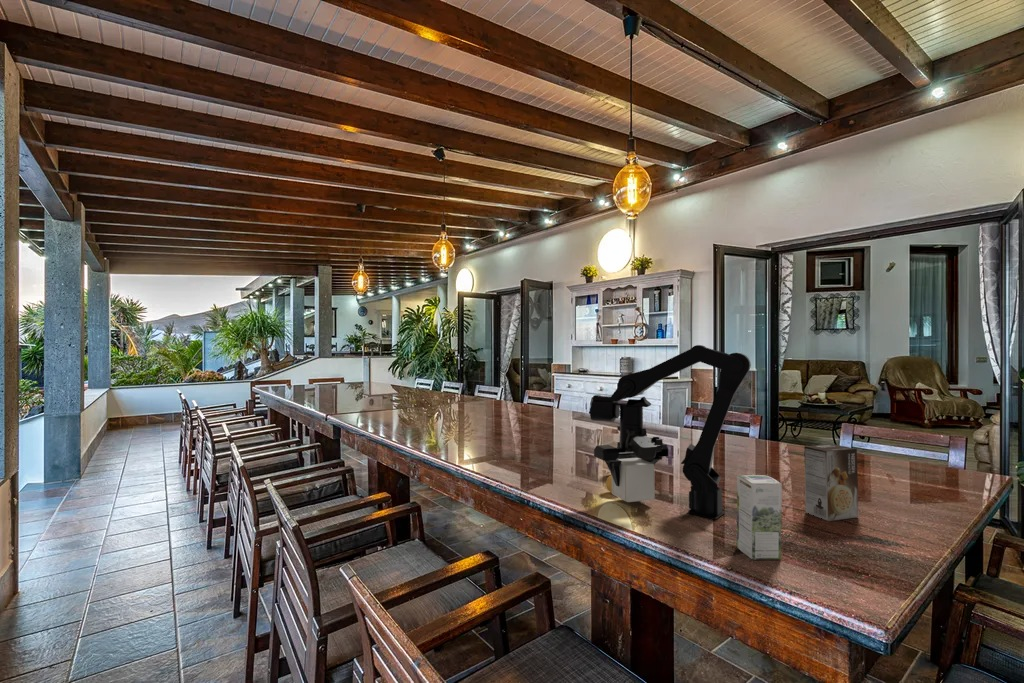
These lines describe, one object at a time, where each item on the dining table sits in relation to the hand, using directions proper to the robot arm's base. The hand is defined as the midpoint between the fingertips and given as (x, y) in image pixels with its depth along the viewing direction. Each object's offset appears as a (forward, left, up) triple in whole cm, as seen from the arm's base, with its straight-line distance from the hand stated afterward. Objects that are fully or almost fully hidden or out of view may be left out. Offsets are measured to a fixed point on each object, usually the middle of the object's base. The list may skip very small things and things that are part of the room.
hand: (631, 484), depth 123 cm
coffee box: (-39, -23, -5) cm, 46 cm away
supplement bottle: (+15, -24, -5) cm, 29 cm away
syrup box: (-33, +12, -5) cm, 36 cm away
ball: (+7, -4, -2) cm, 8 cm away
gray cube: (0, 0, -3) cm, 3 cm away
